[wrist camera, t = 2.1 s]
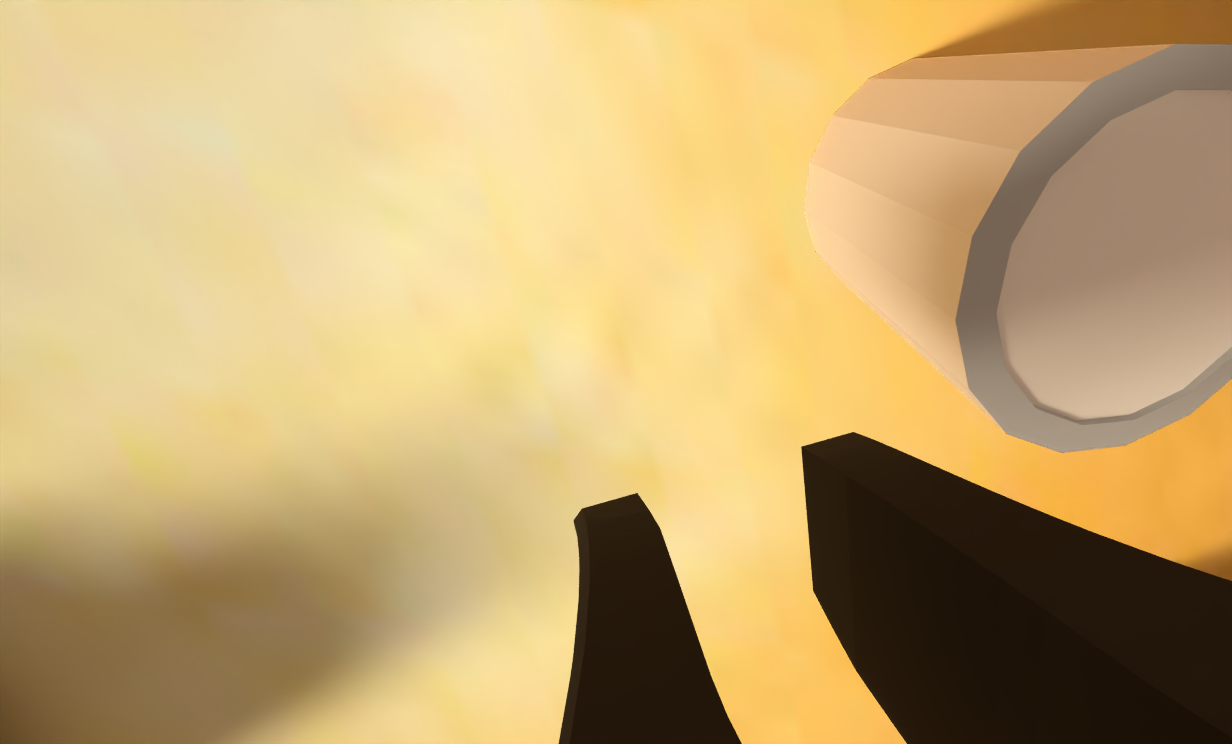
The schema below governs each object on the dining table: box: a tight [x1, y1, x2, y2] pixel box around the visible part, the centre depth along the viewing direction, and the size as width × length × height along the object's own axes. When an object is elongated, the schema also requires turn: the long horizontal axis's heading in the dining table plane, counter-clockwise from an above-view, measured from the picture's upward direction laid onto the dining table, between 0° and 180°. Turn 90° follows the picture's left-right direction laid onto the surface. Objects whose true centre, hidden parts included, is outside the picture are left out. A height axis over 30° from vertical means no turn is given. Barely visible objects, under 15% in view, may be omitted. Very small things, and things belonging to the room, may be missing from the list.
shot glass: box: [804, 44, 1232, 453], centre depth 16 cm, size 7×7×7 cm
